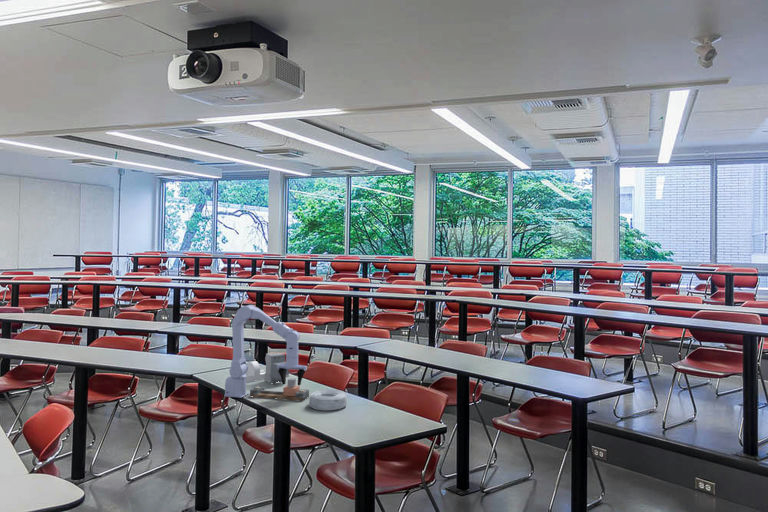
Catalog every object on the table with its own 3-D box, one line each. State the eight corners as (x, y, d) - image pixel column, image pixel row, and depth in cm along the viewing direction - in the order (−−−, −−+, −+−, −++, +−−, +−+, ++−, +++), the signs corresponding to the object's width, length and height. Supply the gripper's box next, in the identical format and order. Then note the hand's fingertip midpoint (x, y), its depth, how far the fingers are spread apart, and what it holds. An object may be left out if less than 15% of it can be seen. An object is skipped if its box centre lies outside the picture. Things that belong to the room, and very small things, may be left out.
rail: (249, 397, 263) (250, 389, 263) (256, 393, 271) (256, 385, 271) (303, 401, 258) (303, 393, 258) (308, 397, 266) (309, 389, 266)
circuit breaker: (277, 386, 285) (278, 357, 285) (264, 381, 296) (265, 353, 296) (290, 384, 290) (290, 356, 290) (277, 379, 301) (277, 352, 301)
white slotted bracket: (271, 379, 303) (271, 360, 303) (242, 384, 290) (242, 364, 290) (262, 376, 310) (262, 358, 310) (233, 380, 297) (233, 362, 297)
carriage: (283, 395, 261) (283, 380, 261) (287, 392, 267) (288, 377, 267) (295, 396, 260) (295, 381, 260) (299, 393, 266) (299, 378, 266)
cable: (341, 400, 262) (341, 387, 262) (352, 410, 246) (352, 396, 246) (305, 403, 256) (305, 390, 256) (314, 413, 240) (314, 399, 240)
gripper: (309, 355, 266) (308, 383, 266) (281, 354, 269) (280, 381, 269) (304, 358, 259) (303, 386, 259) (275, 356, 262) (274, 384, 262)
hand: (291, 384), depth 263 cm, fingers open, 7 cm apart
